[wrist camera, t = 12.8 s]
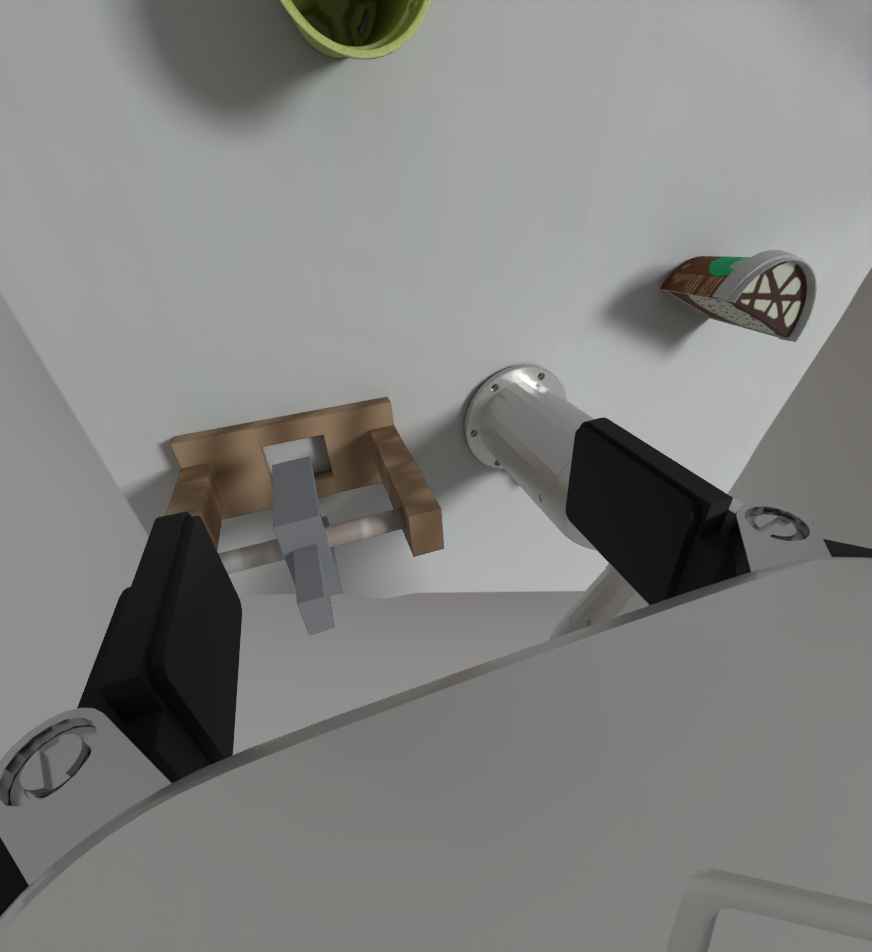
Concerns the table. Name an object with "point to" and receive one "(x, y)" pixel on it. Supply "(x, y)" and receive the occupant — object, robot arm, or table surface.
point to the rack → (353, 465)
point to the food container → (749, 291)
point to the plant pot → (356, 25)
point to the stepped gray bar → (305, 542)
